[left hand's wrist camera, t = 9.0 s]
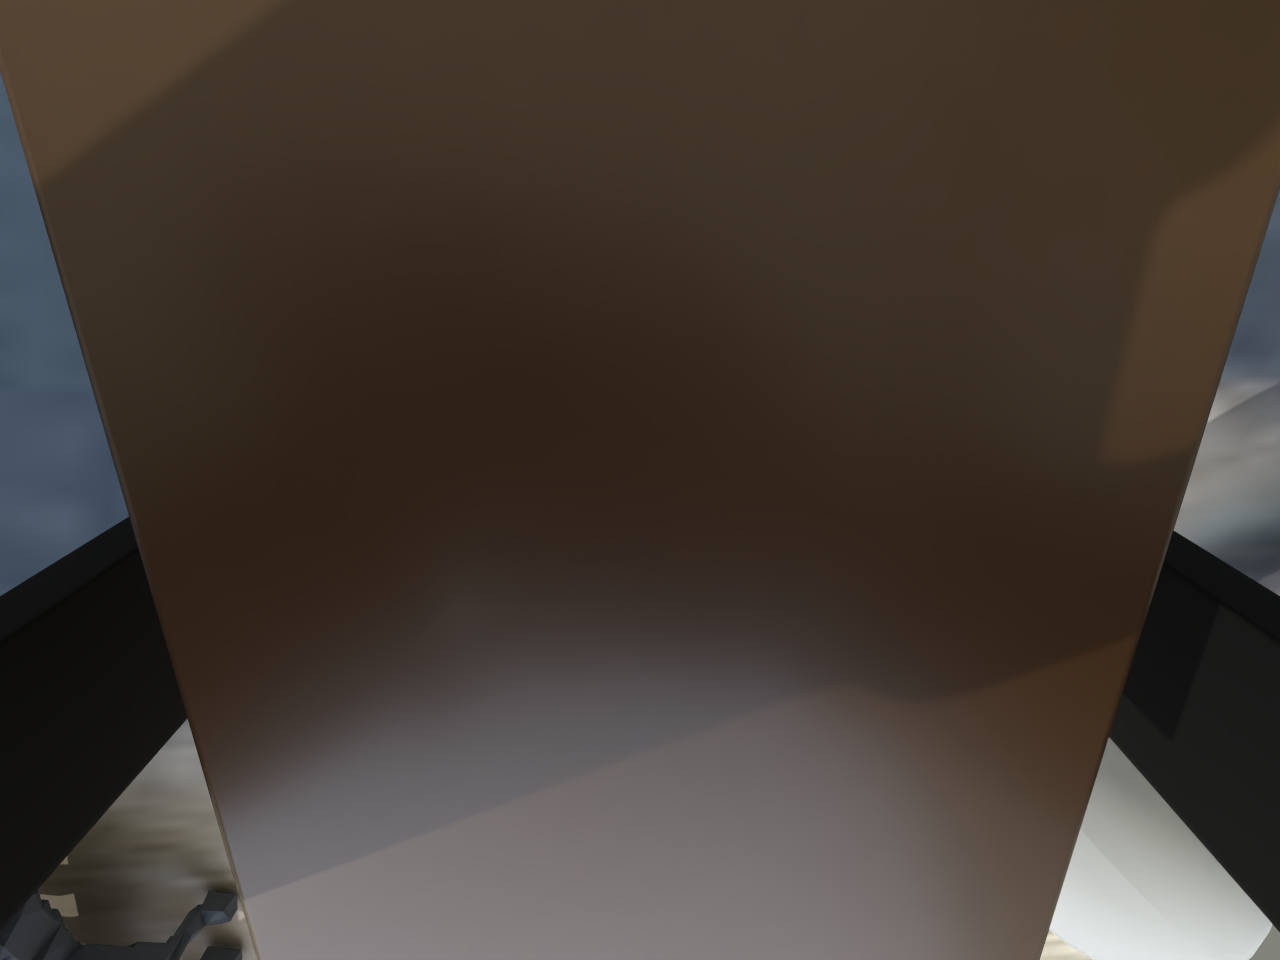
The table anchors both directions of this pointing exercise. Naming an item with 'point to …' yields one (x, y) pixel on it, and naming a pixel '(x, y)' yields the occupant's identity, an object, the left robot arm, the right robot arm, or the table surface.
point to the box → (651, 439)
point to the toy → (49, 956)
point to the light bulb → (1149, 881)
